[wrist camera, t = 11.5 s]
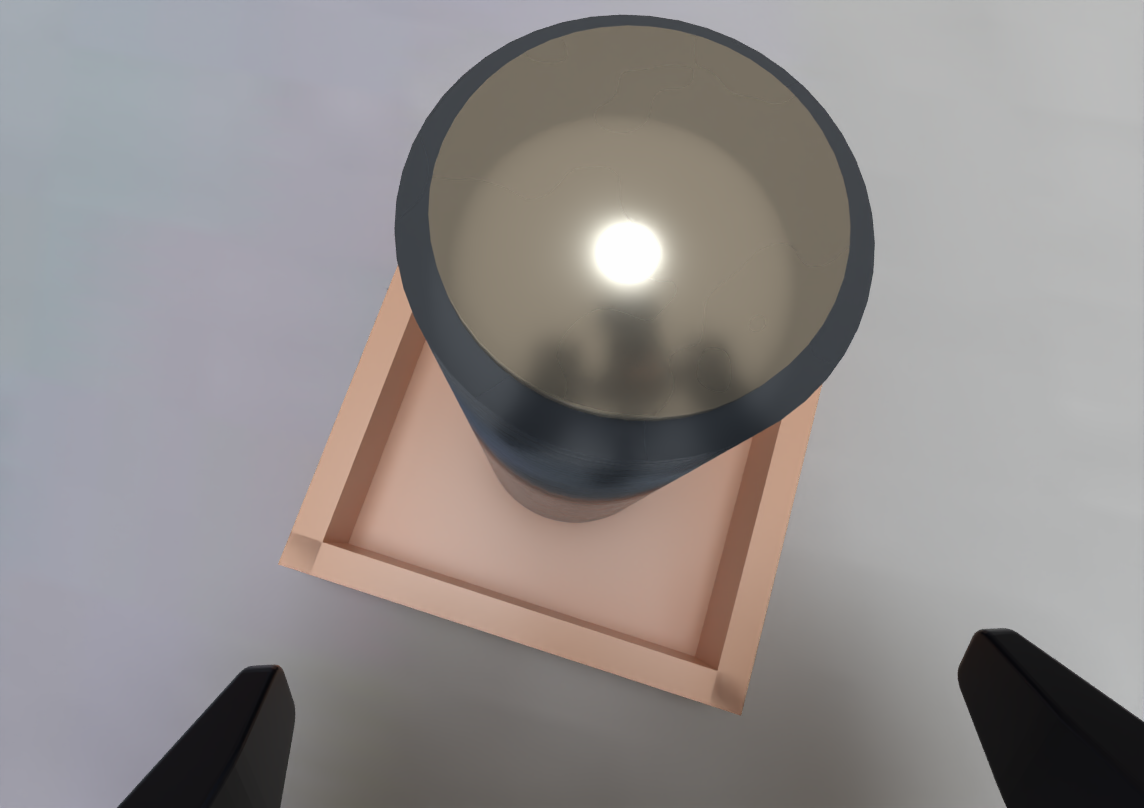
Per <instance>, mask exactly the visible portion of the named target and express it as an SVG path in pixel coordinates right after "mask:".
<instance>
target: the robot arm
mask: <svg viewBox="0 0 1144 808" xmlns="http://www.w3.org/2000/svg"><path fill="white" fill-rule="evenodd" d="M958 682H959V686H960V689H961V692H962V695H963V697H964V700H965V702H966V705H967V708H968V710H969V713H970V715H971V718H972V721H973V723H974V726H975V729H976V731H977V734H978V736H979V739H980V742H981V744H982V747H983V749H984V752H985V755H986V757H987V760H988V762H989V765H990V768H991V770H992V773H993V775H994V778H995V781H996V783H997V786H998V788H999V790H1000V793H1001V795H1002V798H1003V800H1004V802H1005V805H1006V807H1007V808H1144V722H1143V721H1142V720H1141V719H1139V718H1138V717H1136V716H1135V715H1133V714H1132V713H1131V712H1129V711H1128V710H1126V709H1125V708H1124V707H1122V706H1121V705H1119V704H1118V703H1116V702H1115V701H1114V700H1112V699H1111V698H1109V697H1108V696H1106V695H1105V694H1104V693H1102V692H1101V691H1099V690H1098V689H1097V688H1095V687H1094V686H1092V685H1091V684H1089V683H1088V682H1087V681H1085V680H1084V679H1082V678H1081V677H1079V676H1078V675H1077V674H1075V673H1074V672H1072V671H1071V670H1070V669H1068V668H1067V667H1065V666H1064V665H1062V664H1061V663H1060V662H1058V661H1057V660H1055V659H1054V658H1052V657H1051V656H1050V655H1048V654H1047V653H1045V652H1044V651H1043V650H1041V649H1040V648H1038V647H1037V646H1035V645H1034V644H1033V643H1031V642H1030V641H1028V640H1027V639H1025V638H1024V637H1023V636H1021V635H1020V634H1018V633H1017V632H1015V631H1013V630H1010V629H1006V628H997V629H981V630H979V631H977V632H976V633H975V634H974V635H973V637H972V639H971V641H970V644H969V646H968V648H967V650H966V652H965V654H964V657H963V659H962V661H961V663H960V665H959V668H958ZM294 724H295V705H294V701H293V698H292V695H291V692H290V689H289V686H288V683H287V680H286V677H285V674H284V671H283V669H282V668H281V667H280V666H278V665H258V666H249V667H247V668H245V669H244V670H242V671H241V672H240V673H239V674H238V675H237V676H236V677H235V678H234V680H233V681H232V682H231V683H230V684H229V685H228V686H227V687H226V688H225V689H224V691H223V692H222V693H221V694H220V695H219V696H218V697H217V698H216V699H215V700H214V702H213V703H212V704H211V705H210V706H209V707H208V708H207V709H206V710H205V711H204V713H203V714H202V715H201V716H200V717H199V718H198V719H197V720H196V721H195V722H194V724H193V725H192V726H191V727H190V728H189V729H188V730H187V731H186V732H185V733H184V735H183V736H182V737H181V738H180V739H179V740H178V741H177V742H176V743H175V744H174V746H173V747H172V748H171V749H170V750H169V751H168V752H167V753H166V754H165V755H164V757H163V758H162V759H161V760H160V761H159V762H158V763H157V764H156V765H155V766H154V768H153V769H152V770H151V771H150V772H149V773H148V774H147V775H146V776H145V777H144V779H143V780H142V781H141V782H140V783H139V784H138V785H137V786H136V787H135V788H134V790H133V791H132V792H131V793H130V794H129V795H128V796H127V797H126V798H125V799H124V801H123V802H122V803H121V804H120V805H119V806H118V807H117V808H280V805H281V800H282V794H283V788H284V782H285V776H286V771H287V765H288V759H289V753H290V747H291V742H292V736H293V730H294Z"/></svg>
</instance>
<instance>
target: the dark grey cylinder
mask: <svg viewBox="0 0 1144 808" xmlns="http://www.w3.org/2000/svg"><path fill="white" fill-rule="evenodd" d="M395 242H396V255H397V262H398V267H399V271H400V276H401V280H402V284H403V289H404V292H405V294H406V297H407V300H408V302H409V305H410V307H411V310H412V313H413V315H414V318H415V320H416V322H417V324H418V326H419V328H420V330H421V332H422V333H423V335H424V337H425V339H426V341H427V343H428V345H429V347H430V349H431V351H432V353H433V355H434V357H435V359H436V361H437V362H438V364H439V366H440V368H441V370H442V372H443V374H444V376H445V378H446V380H447V382H448V384H449V386H450V388H451V389H452V391H453V393H454V395H455V397H456V399H457V401H458V403H459V405H460V407H461V409H462V411H463V413H464V415H465V417H466V418H467V420H468V422H469V424H470V426H471V428H472V430H473V432H474V434H475V436H476V438H477V440H478V442H479V444H480V446H481V447H482V449H483V451H484V453H485V455H486V457H487V459H488V461H489V463H490V465H491V467H492V469H493V471H494V472H495V474H496V476H497V478H498V480H499V481H500V483H501V484H502V485H503V487H504V488H505V490H506V491H507V492H508V493H509V494H510V495H511V496H512V497H513V498H514V499H515V500H516V501H518V502H519V503H520V504H521V505H523V506H524V507H525V508H527V509H529V510H530V511H532V512H534V513H536V514H538V515H541V516H543V517H545V518H549V519H552V520H556V521H561V522H568V523H583V522H591V521H596V520H600V519H603V518H606V517H609V516H611V515H614V514H616V513H618V512H620V511H621V510H623V509H625V508H627V507H628V506H630V505H632V504H634V503H636V502H637V501H639V500H641V499H643V498H644V497H646V496H648V495H650V494H652V493H653V492H655V491H657V490H659V489H660V488H662V487H664V486H666V485H668V484H669V483H671V482H673V481H675V480H676V479H678V478H680V477H682V476H684V475H685V474H687V473H689V472H691V471H692V470H694V469H696V468H698V467H700V466H701V465H703V464H705V463H707V462H708V461H710V460H712V459H714V458H716V457H717V456H719V455H721V454H723V453H724V452H726V451H728V450H730V449H732V448H733V447H735V446H737V445H739V444H740V443H742V442H744V441H746V440H748V439H749V438H751V437H753V436H755V435H756V434H758V433H760V432H762V431H763V430H765V429H767V428H768V427H770V426H772V425H774V424H775V423H777V422H779V421H781V420H782V419H783V418H785V417H786V416H787V415H788V414H790V413H791V412H792V411H794V410H795V409H796V408H797V407H799V406H800V405H801V404H802V403H804V402H805V401H806V400H807V399H808V398H809V397H810V396H811V395H812V394H813V393H814V392H815V391H816V390H817V389H818V388H819V387H820V386H821V385H822V383H823V382H824V381H825V380H826V379H827V378H828V377H829V375H830V374H831V373H832V371H833V370H834V368H835V367H836V366H837V364H838V363H839V361H840V360H841V359H842V357H843V356H844V354H845V352H846V351H847V349H848V347H849V345H850V343H851V341H852V339H853V337H854V335H855V333H856V331H857V329H858V327H859V324H860V321H861V318H862V316H863V313H864V310H865V307H866V304H867V301H868V297H869V291H870V286H871V281H872V276H873V267H874V247H875V241H874V230H873V219H872V212H871V207H870V203H869V199H868V194H867V190H866V186H865V183H864V181H863V178H862V175H861V173H860V170H859V167H858V165H857V162H856V159H855V157H854V155H853V154H852V152H851V150H850V148H849V146H848V144H847V142H846V140H845V138H844V137H843V135H842V133H841V132H840V130H839V129H838V127H837V126H836V124H835V123H834V122H833V120H832V119H831V117H830V116H829V114H828V113H827V112H826V110H825V109H824V108H823V107H822V106H821V105H820V104H819V102H818V101H817V100H816V99H815V98H814V97H813V96H812V95H811V94H810V92H809V91H808V90H807V89H806V88H805V87H804V86H803V85H801V84H800V83H799V82H798V81H797V80H796V79H795V78H793V77H792V76H791V75H790V74H789V73H788V72H787V71H785V70H784V69H783V68H781V67H780V66H779V65H777V64H776V63H774V62H773V61H771V60H770V59H768V58H767V57H765V56H764V55H763V54H761V53H760V52H758V51H756V50H754V49H752V48H750V47H748V46H746V45H745V44H743V43H741V42H739V41H737V40H735V39H733V38H730V37H728V36H725V35H723V34H720V33H718V32H715V31H713V30H710V29H708V28H704V27H701V26H697V25H693V24H690V23H686V22H682V21H679V20H672V19H666V18H659V17H653V16H638V15H611V16H597V17H588V18H583V19H578V20H572V21H567V22H562V23H559V24H556V25H553V26H550V27H546V28H543V29H540V30H537V31H534V32H532V33H530V34H528V35H525V36H523V37H521V38H519V39H516V40H514V41H512V42H510V43H508V44H506V45H505V46H503V47H502V48H500V49H498V50H497V51H495V52H493V53H492V54H490V55H488V56H487V57H485V58H484V59H483V60H481V61H480V62H479V63H478V64H476V65H475V66H474V67H473V68H471V69H470V70H469V71H468V72H466V73H465V74H464V75H463V76H462V77H461V78H460V79H459V80H458V81H457V82H456V83H455V84H454V85H453V86H452V87H451V88H450V89H449V90H448V91H447V92H446V93H445V94H444V95H443V97H442V98H441V99H440V101H439V102H438V103H437V105H436V106H435V108H434V109H433V110H432V112H431V113H430V114H429V116H428V117H427V119H426V120H425V122H424V124H423V126H422V128H421V130H420V131H419V133H418V135H417V137H416V139H415V141H414V143H413V144H412V147H411V150H410V153H409V155H408V158H407V161H406V163H405V166H404V169H403V172H402V176H401V181H400V186H399V191H398V195H397V200H396V215H395Z"/></svg>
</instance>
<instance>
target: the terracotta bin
mask: <svg viewBox="0 0 1144 808" xmlns="http://www.w3.org/2000/svg"><path fill="white" fill-rule="evenodd" d="M821 387H822V385H821V386H820V387H819V388H818V389H817V390H816V391H815V392H814V393H813V394H812V395H811V396H810V397H809V398H808V399H807V400H806V401H805V402H804V403H802V404H801V405H800V406H799V407H797V408H796V409H795V410H794V411H792V412H791V413H790V414H788V415H787V416H786V417H785V418H783V419H782V420H781V421H779V422H777V423H775V424H774V425H772V426H770V427H768V428H767V429H765V430H763V431H762V432H760V433H758V434H756V435H755V436H753V437H751V438H749V439H748V440H746V441H744V442H742V443H740V444H739V445H737V446H735V447H733V448H732V449H730V450H728V451H726V452H724V453H723V454H721V455H719V456H717V457H716V458H714V459H712V460H710V461H708V462H707V463H705V464H703V465H701V466H700V467H698V468H696V469H694V470H692V471H691V472H689V473H687V474H685V475H684V476H682V477H680V478H678V479H676V480H675V481H673V482H671V483H669V484H668V485H666V486H664V487H662V488H660V489H659V490H657V491H655V492H653V493H652V494H650V495H648V496H646V497H644V498H643V499H641V500H639V501H637V502H636V503H634V504H632V505H630V506H628V507H627V508H625V509H623V510H621V511H620V512H618V513H616V514H614V515H611V516H609V517H606V518H603V519H600V520H596V521H591V522H583V523H568V522H561V521H556V520H552V519H549V518H545V517H543V516H541V515H538V514H536V513H534V512H532V511H530V510H529V509H527V508H525V507H524V506H523V505H521V504H520V503H519V502H518V501H516V500H515V499H514V498H513V497H512V496H511V495H510V494H509V493H508V492H507V491H506V490H505V488H504V487H503V485H502V484H501V483H500V481H499V480H498V478H497V476H496V474H495V472H494V471H493V469H492V467H491V465H490V463H489V461H488V459H487V457H486V455H485V453H484V451H483V449H482V447H481V446H480V444H479V442H478V440H477V438H476V436H475V434H474V432H473V430H472V428H471V426H470V424H469V422H468V420H467V418H466V417H465V415H464V413H463V411H462V409H461V407H460V405H459V403H458V401H457V399H456V397H455V395H454V393H453V391H452V389H451V388H450V386H449V384H448V382H447V380H446V378H445V376H444V374H443V372H442V370H441V368H440V366H439V364H438V362H437V361H436V359H435V357H434V355H433V353H432V351H431V349H430V347H429V345H428V343H427V341H426V339H425V337H424V335H423V333H422V332H421V330H420V328H419V326H418V324H417V322H416V320H415V318H414V315H413V313H412V310H411V307H410V305H409V302H408V300H407V297H406V294H405V292H404V289H403V284H402V280H401V276H400V271H399V267H398V266H397V269H396V271H395V274H394V276H393V279H392V281H391V284H390V286H389V289H388V291H387V294H386V296H385V298H384V301H383V303H382V306H381V308H380V311H379V313H378V316H377V318H376V321H375V323H374V326H373V328H372V331H371V333H370V336H369V338H368V341H367V343H366V346H365V348H364V351H363V353H362V356H361V358H360V361H359V363H358V366H357V368H356V371H355V373H354V376H353V378H352V381H351V383H350V386H349V388H348V391H347V393H346V396H345V398H344V401H343V403H342V406H341V408H340V411H339V413H338V416H337V418H336V421H335V423H334V426H333V428H332V431H331V433H330V436H329V438H328V441H327V443H326V446H325V448H324V451H323V453H322V456H321V458H320V461H319V463H318V466H317V468H316V471H315V473H314V476H313V478H312V481H311V483H310V486H309V488H308V491H307V493H306V496H305V498H304V501H303V503H302V506H301V508H300V511H299V513H298V516H297V518H296V521H295V523H294V526H293V528H292V531H291V533H290V536H289V538H288V541H287V543H286V546H285V548H284V551H283V553H282V556H281V558H280V561H279V563H278V564H279V565H282V566H285V567H288V568H291V569H294V570H297V571H300V572H303V573H306V574H310V575H313V576H316V577H319V578H322V579H325V580H328V581H331V582H334V583H337V584H340V585H343V586H346V587H349V588H352V589H355V590H358V591H362V592H365V593H368V594H371V595H374V596H377V597H380V598H383V599H386V600H389V601H392V602H395V603H398V604H401V605H404V606H407V607H410V608H413V609H417V610H420V611H423V612H426V613H429V614H432V615H435V616H438V617H441V618H444V619H447V620H450V621H453V622H456V623H459V624H462V625H465V626H468V627H472V628H475V629H478V630H481V631H484V632H487V633H490V634H493V635H496V636H499V637H502V638H505V639H508V640H511V641H514V642H517V643H520V644H523V645H527V646H530V647H533V648H536V649H539V650H542V651H545V652H548V653H551V654H554V655H557V656H560V657H563V658H566V659H569V660H572V661H575V662H578V663H582V664H585V665H588V666H591V667H594V668H597V669H600V670H603V671H606V672H609V673H612V674H615V675H618V676H621V677H624V678H627V679H630V680H633V681H637V682H640V683H643V684H646V685H649V686H652V687H655V688H658V689H661V690H664V691H667V692H670V693H673V694H676V695H679V696H682V697H685V698H688V699H692V700H695V701H698V702H701V703H704V704H707V705H710V706H713V707H716V708H719V709H722V710H725V711H728V712H731V713H734V714H737V715H740V716H741V714H742V710H743V706H744V701H745V697H746V693H747V689H748V685H749V681H750V677H751V673H752V669H753V665H754V661H755V657H756V652H757V648H758V644H759V640H760V636H761V632H762V628H763V624H764V620H765V616H766V612H767V607H768V603H769V599H770V595H771V591H772V587H773V583H774V579H775V575H776V571H777V567H778V563H779V558H780V554H781V550H782V546H783V542H784V538H785V534H786V530H787V526H788V522H789V518H790V514H791V509H792V505H793V501H794V497H795V493H796V489H797V485H798V481H799V477H800V473H801V469H802V464H803V460H804V456H805V452H806V448H807V444H808V440H809V436H810V432H811V428H812V424H813V420H814V415H815V411H816V407H817V403H818V399H819V395H820V391H821Z"/></svg>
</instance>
